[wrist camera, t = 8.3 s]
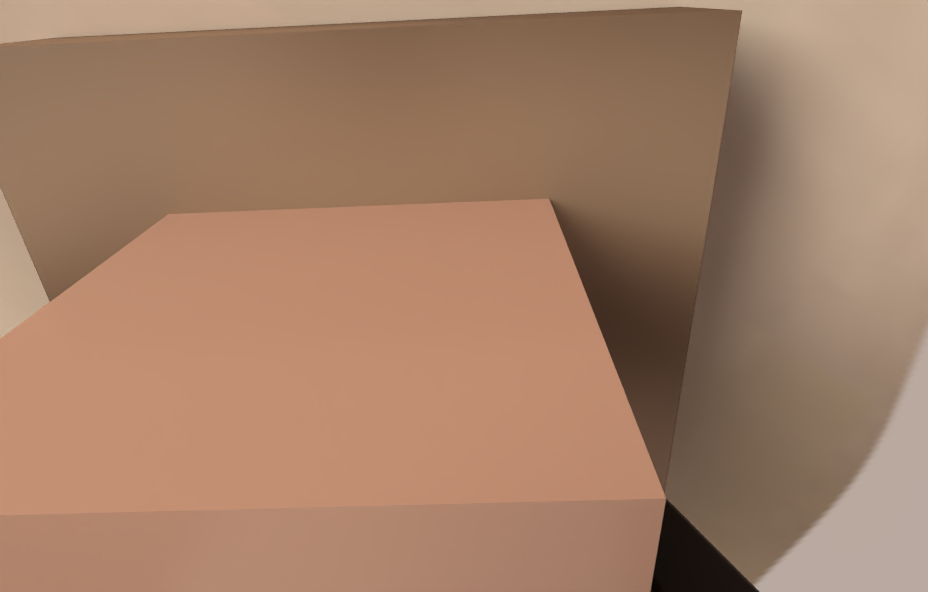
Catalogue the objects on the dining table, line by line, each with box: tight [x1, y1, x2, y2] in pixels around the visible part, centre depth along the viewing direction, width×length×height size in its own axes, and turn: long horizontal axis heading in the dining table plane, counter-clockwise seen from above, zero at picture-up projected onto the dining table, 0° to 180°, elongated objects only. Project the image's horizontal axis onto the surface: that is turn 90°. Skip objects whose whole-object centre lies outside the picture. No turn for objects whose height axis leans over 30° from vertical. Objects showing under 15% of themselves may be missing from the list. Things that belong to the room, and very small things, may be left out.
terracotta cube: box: [0, 199, 666, 592], centre depth 8 cm, size 6×6×6 cm
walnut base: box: [0, 7, 742, 492], centre depth 12 cm, size 11×11×2 cm
